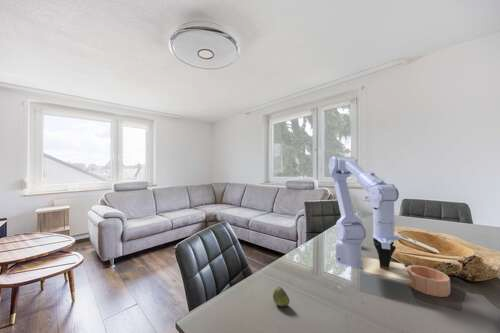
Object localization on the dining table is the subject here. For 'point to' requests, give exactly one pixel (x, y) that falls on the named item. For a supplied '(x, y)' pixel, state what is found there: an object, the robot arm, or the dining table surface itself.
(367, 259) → the lid
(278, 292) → the lime
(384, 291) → the mat
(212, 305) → the dining table surface
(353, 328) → the dining table surface
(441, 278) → the bowl
